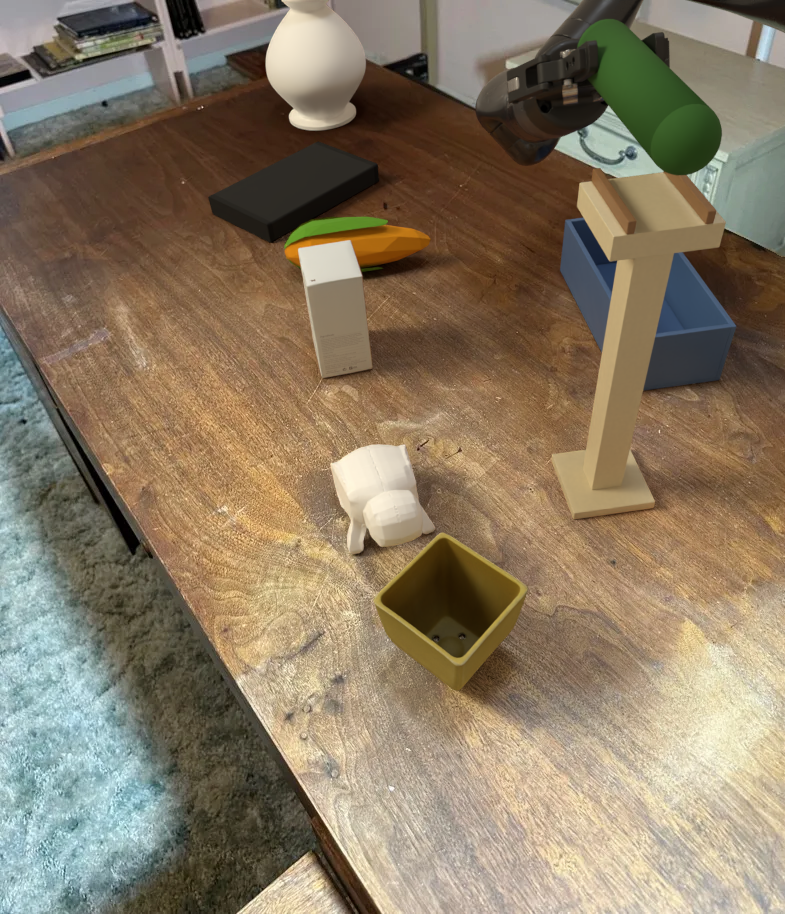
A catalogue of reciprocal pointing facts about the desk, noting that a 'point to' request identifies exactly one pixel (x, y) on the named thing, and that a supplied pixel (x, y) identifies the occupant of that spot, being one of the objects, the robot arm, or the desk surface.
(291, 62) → the decorative vase
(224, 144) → the desk surface
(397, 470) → the white animal figurine
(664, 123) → the green cylinder
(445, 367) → the desk surface
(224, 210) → the external hard drive
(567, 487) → the wooden cradle stand
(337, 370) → the small box
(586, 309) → the open box
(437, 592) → the flower pot
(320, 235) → the corn
